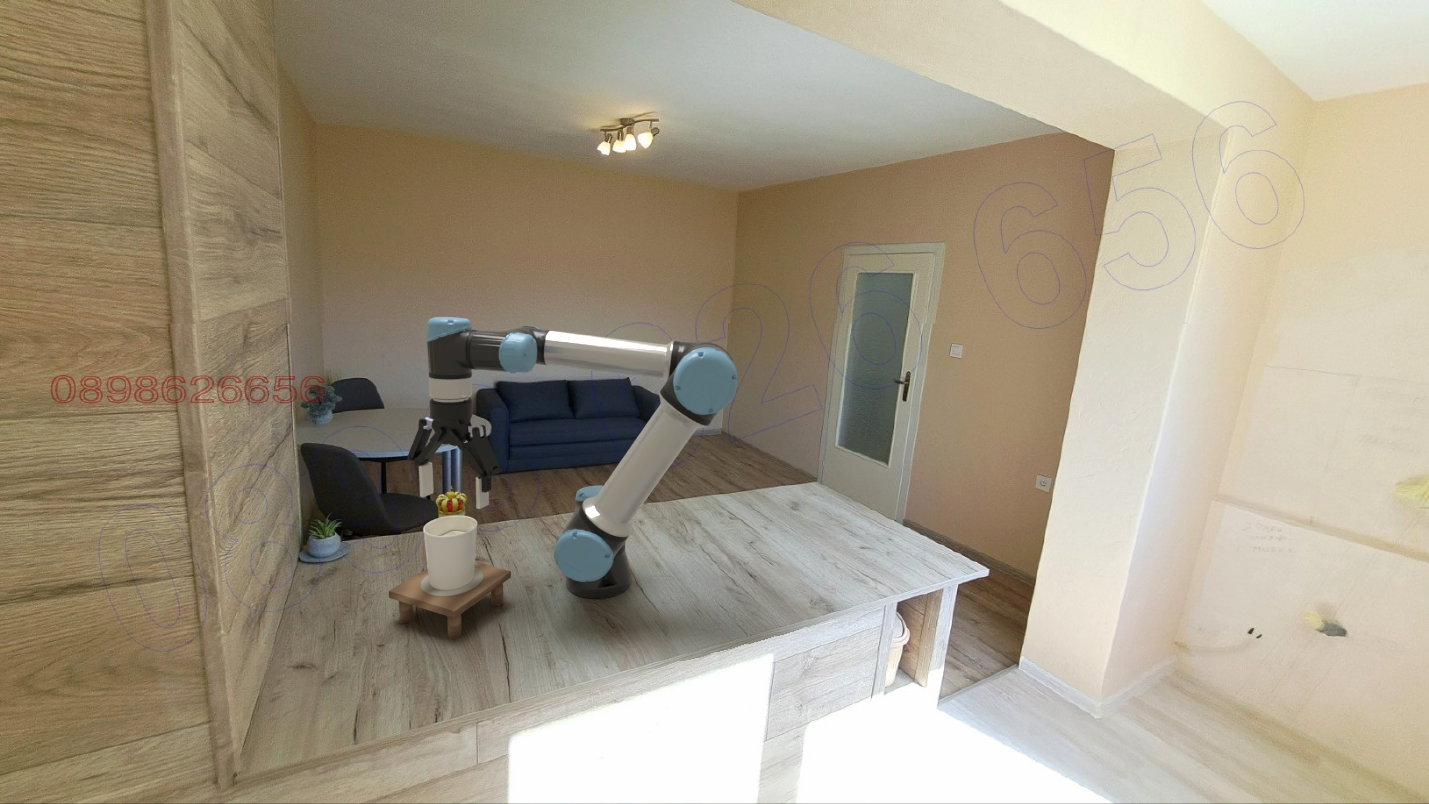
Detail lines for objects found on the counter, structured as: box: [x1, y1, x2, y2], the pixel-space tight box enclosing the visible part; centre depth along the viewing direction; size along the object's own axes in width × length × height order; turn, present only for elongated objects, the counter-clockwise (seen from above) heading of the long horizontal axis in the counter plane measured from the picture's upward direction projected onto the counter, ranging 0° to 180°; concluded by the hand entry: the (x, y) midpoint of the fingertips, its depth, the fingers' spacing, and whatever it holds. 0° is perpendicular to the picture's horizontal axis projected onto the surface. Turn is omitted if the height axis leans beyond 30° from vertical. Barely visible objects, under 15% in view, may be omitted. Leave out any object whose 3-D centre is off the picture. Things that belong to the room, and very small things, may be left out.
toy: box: [435, 485, 468, 518], centre depth 140 cm, size 7×7×15 cm
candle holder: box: [422, 515, 478, 590], centre depth 110 cm, size 10×10×12 cm
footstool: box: [388, 561, 512, 640], centre depth 112 cm, size 16×16×7 cm
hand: (454, 500), depth 109 cm, fingers open, 13 cm apart
